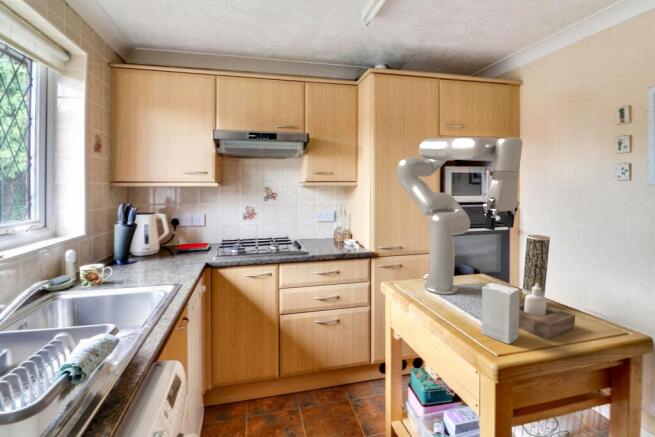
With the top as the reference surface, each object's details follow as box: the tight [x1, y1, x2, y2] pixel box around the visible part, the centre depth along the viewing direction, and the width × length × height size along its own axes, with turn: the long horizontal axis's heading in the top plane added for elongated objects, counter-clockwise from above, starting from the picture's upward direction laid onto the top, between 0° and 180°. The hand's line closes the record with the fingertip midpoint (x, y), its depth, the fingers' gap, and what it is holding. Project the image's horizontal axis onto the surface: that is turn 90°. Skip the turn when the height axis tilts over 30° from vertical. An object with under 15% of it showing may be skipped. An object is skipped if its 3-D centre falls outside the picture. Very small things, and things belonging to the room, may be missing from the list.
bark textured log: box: [521, 234, 551, 298], centre depth 115 cm, size 7×7×25 cm
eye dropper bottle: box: [524, 283, 547, 318], centre depth 101 cm, size 4×6×12 cm
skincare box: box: [481, 282, 521, 345], centre depth 93 cm, size 8×6×15 cm
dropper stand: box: [519, 297, 576, 341], centre depth 102 cm, size 16×14×4 cm
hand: (499, 228), depth 108 cm, fingers open, 9 cm apart
